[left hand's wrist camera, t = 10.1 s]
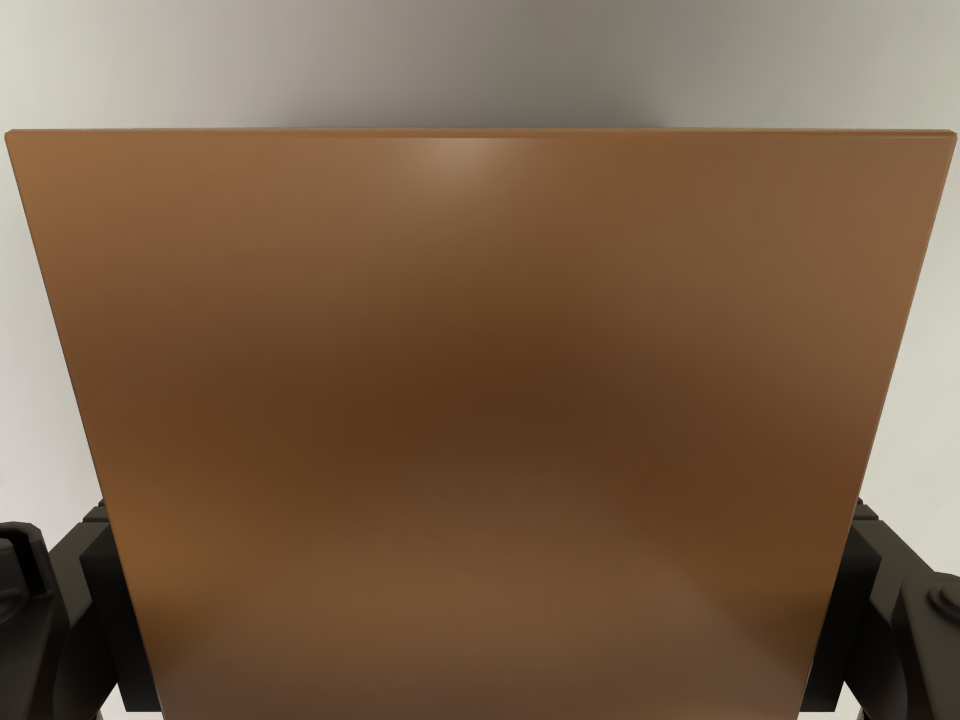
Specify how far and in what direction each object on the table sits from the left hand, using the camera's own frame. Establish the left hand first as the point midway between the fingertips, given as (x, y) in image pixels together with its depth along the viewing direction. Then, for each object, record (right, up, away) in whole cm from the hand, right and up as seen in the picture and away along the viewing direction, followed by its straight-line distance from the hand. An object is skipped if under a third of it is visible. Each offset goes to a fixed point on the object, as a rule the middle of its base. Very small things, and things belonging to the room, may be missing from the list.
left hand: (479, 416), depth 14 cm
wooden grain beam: (0, -19, +8) cm, 21 cm away
